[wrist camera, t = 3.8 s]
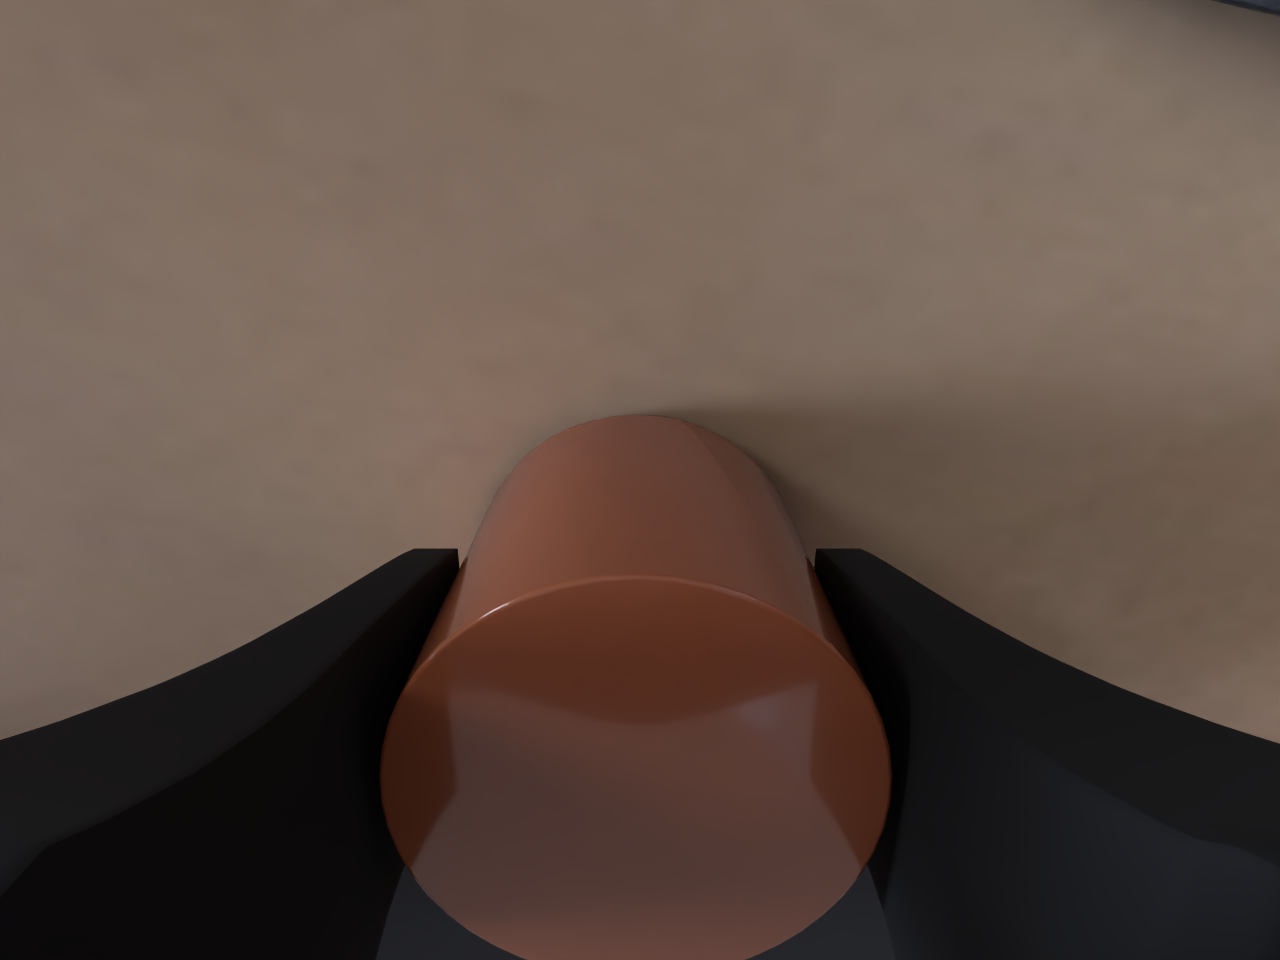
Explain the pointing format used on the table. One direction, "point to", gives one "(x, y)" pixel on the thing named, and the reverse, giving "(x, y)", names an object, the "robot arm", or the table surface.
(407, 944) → the mat
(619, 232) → the table surface
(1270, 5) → the decorative plate
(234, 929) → the robot arm
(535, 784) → the copper cylinder
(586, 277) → the table surface
